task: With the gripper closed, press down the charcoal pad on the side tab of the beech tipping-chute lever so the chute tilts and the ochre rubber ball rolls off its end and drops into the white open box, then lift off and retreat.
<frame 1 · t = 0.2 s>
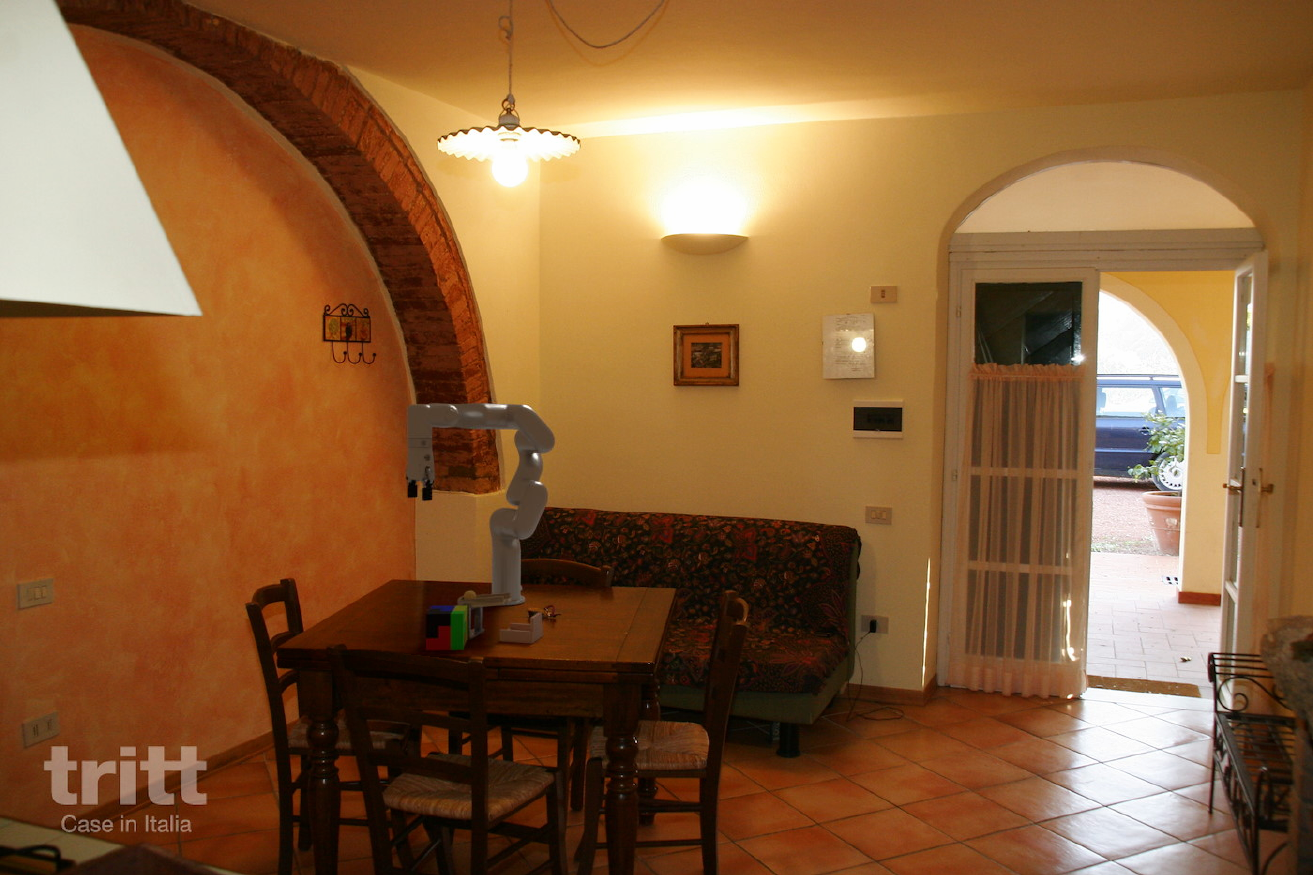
hand: (419, 499, 292), 37 cm above the table, tool pointing down, fingers open, 9 cm apart
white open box: (521, 638, 270), on the table
lever: (480, 605, 275), point 8 cm above the table, hinge at 8.0°, touching ball
puzzle toy: (447, 645, 262), on the table
ball: (469, 596, 273), point 11 cm above the table, tilted 31°, touching lever
stand: (472, 634, 273), on the table
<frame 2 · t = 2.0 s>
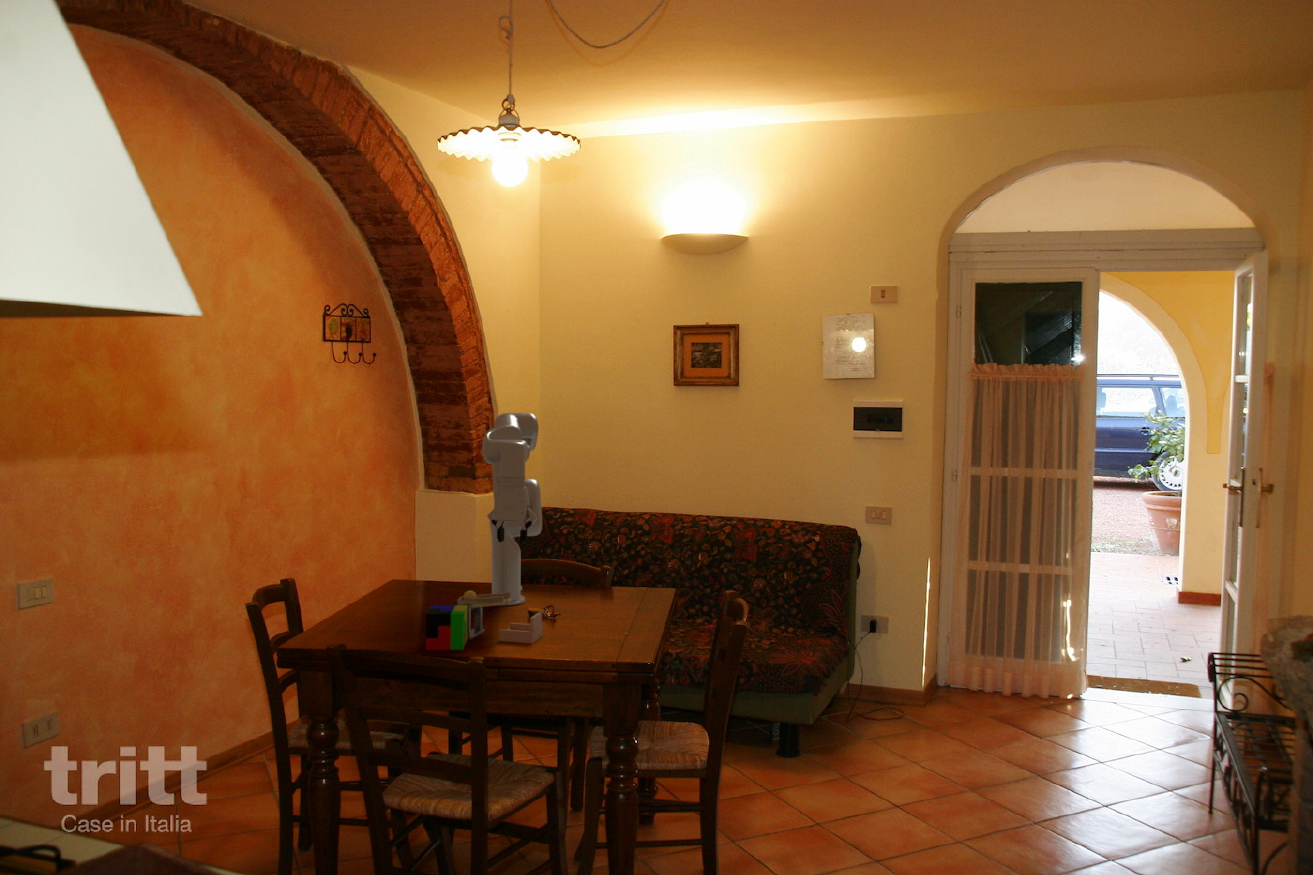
hand: (512, 541, 283), 26 cm above the table, tool pointing down, fingers open, 6 cm apart
nothing on the table moved.
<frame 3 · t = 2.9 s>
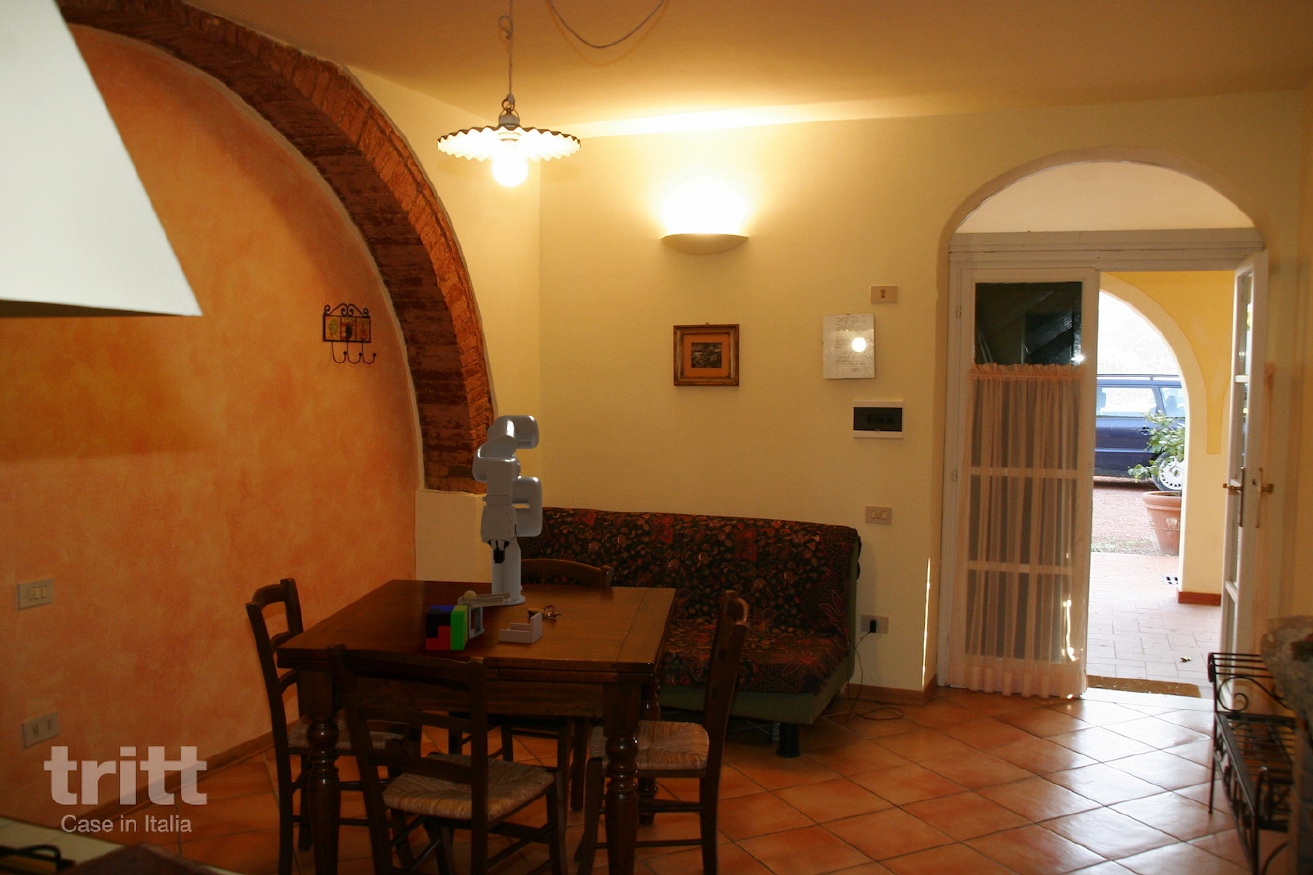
hand: (499, 562, 277), 20 cm above the table, tool pointing down, fingers closed
nothing on the table moved.
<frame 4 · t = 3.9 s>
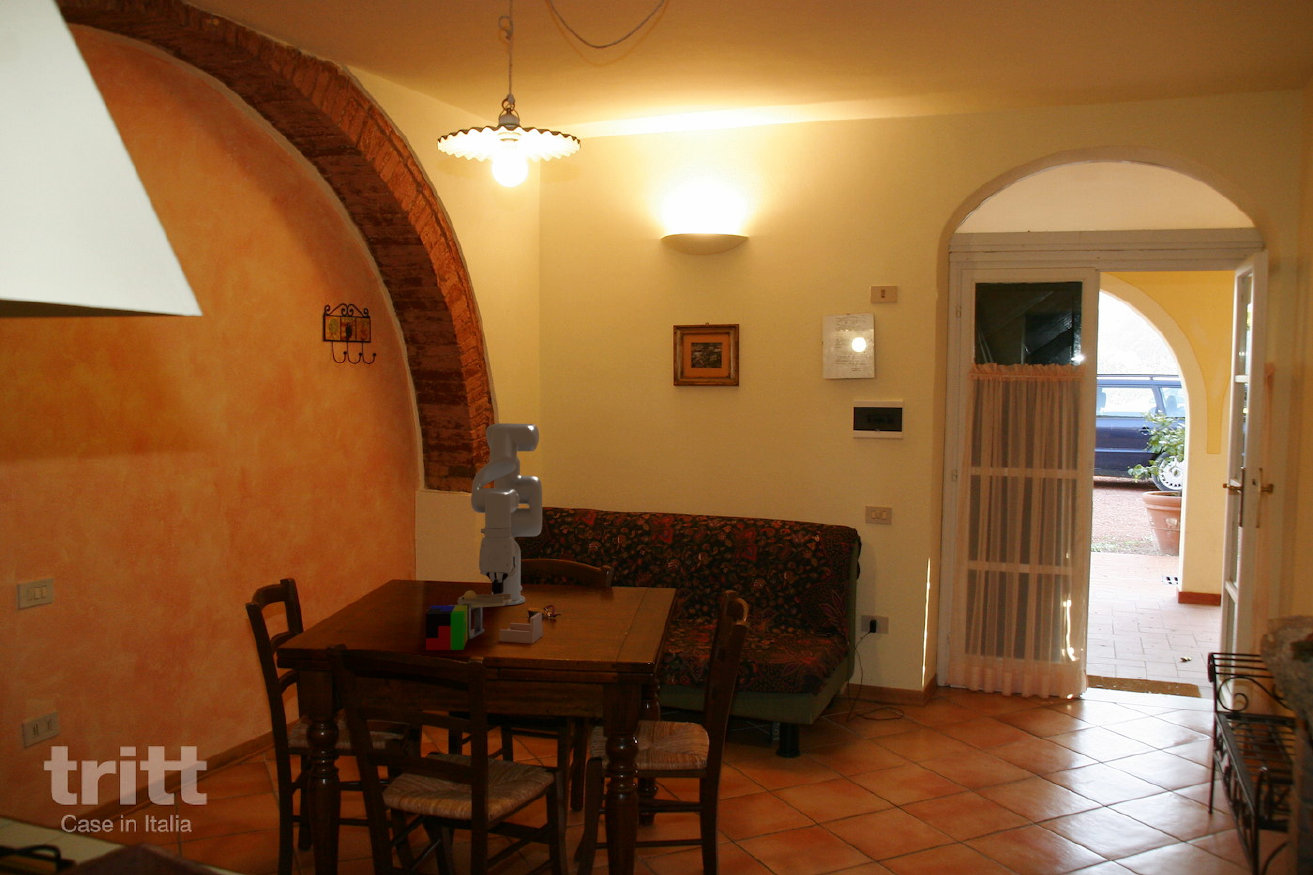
hand: (497, 594, 277), 11 cm above the table, tool pointing down, fingers closed
lever: (480, 605, 275), point 8 cm above the table, hinge at 6.5°, touching ball, gripper
everything else where it was.
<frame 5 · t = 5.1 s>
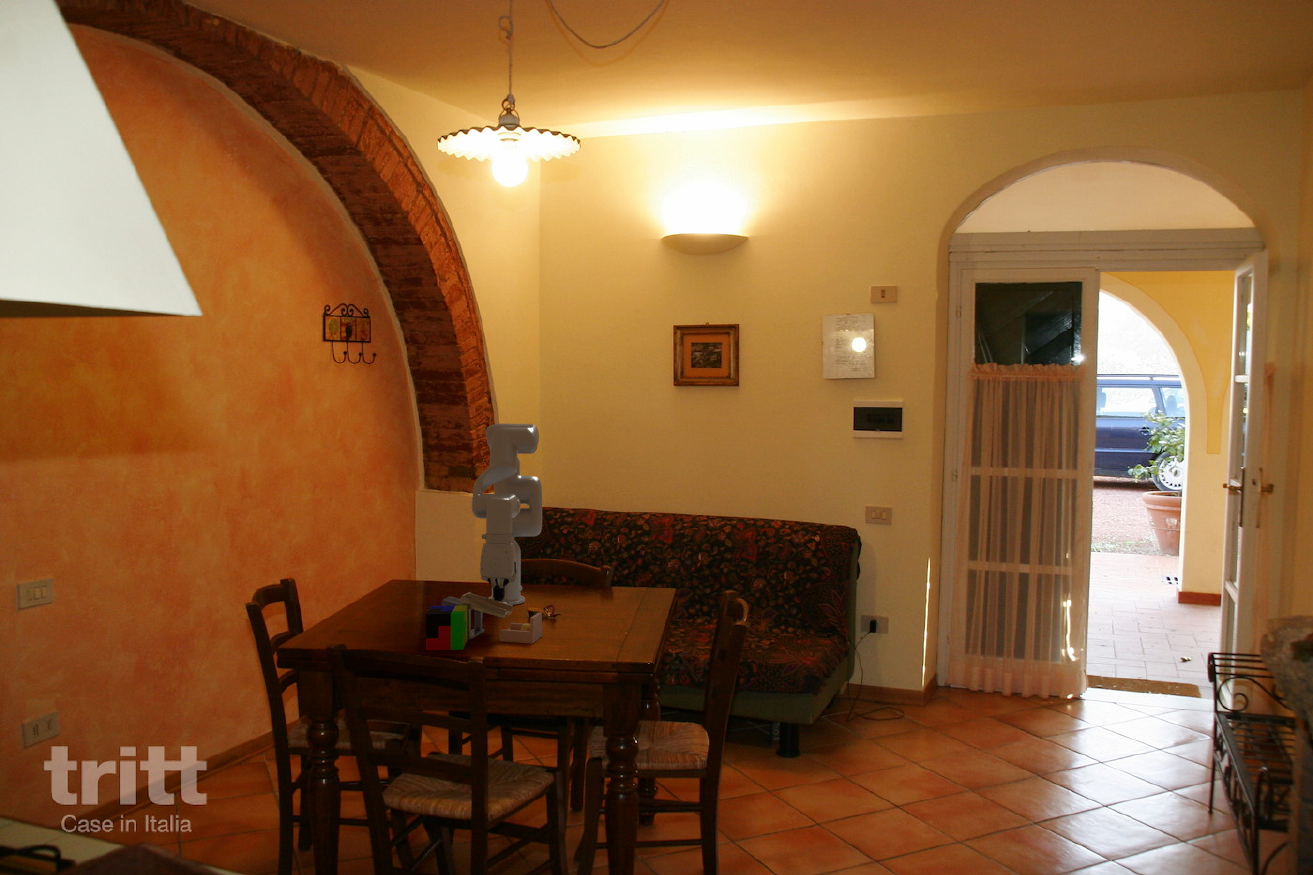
hand: (498, 600, 277), 9 cm above the table, tool pointing down, fingers closed
lever: (480, 606, 275), point 8 cm above the table, hinge at -11.9°, touching gripper
ball: (526, 629, 269), point 3 cm above the table, tilted 96°, touching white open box
everything else where it was.
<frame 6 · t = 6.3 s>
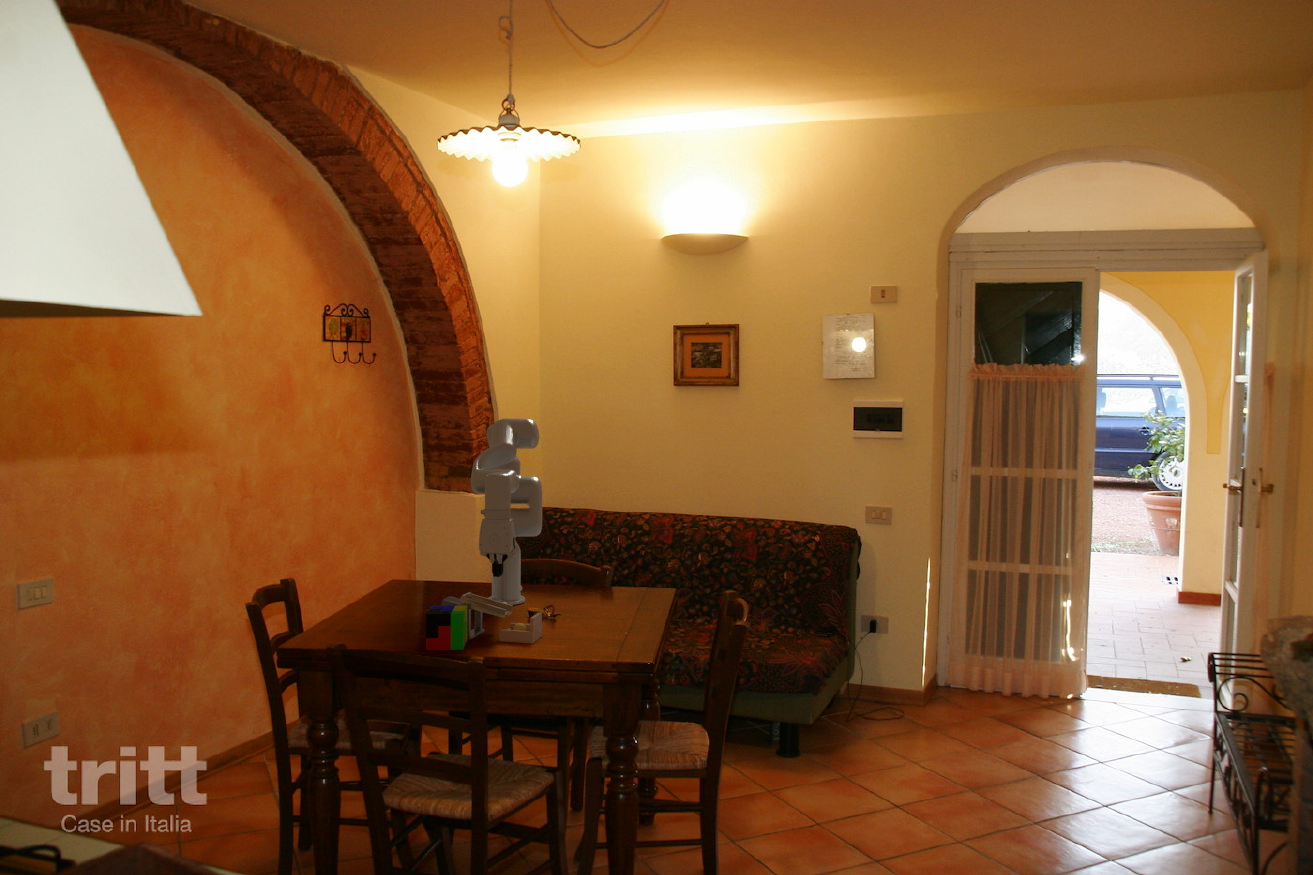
hand: (497, 575, 278), 16 cm above the table, tool pointing down, fingers closed
lever: (480, 606, 275), point 8 cm above the table, hinge at -12.0°
ball: (519, 629, 270), point 3 cm above the table, tilted 166°, touching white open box
everything else where it was.
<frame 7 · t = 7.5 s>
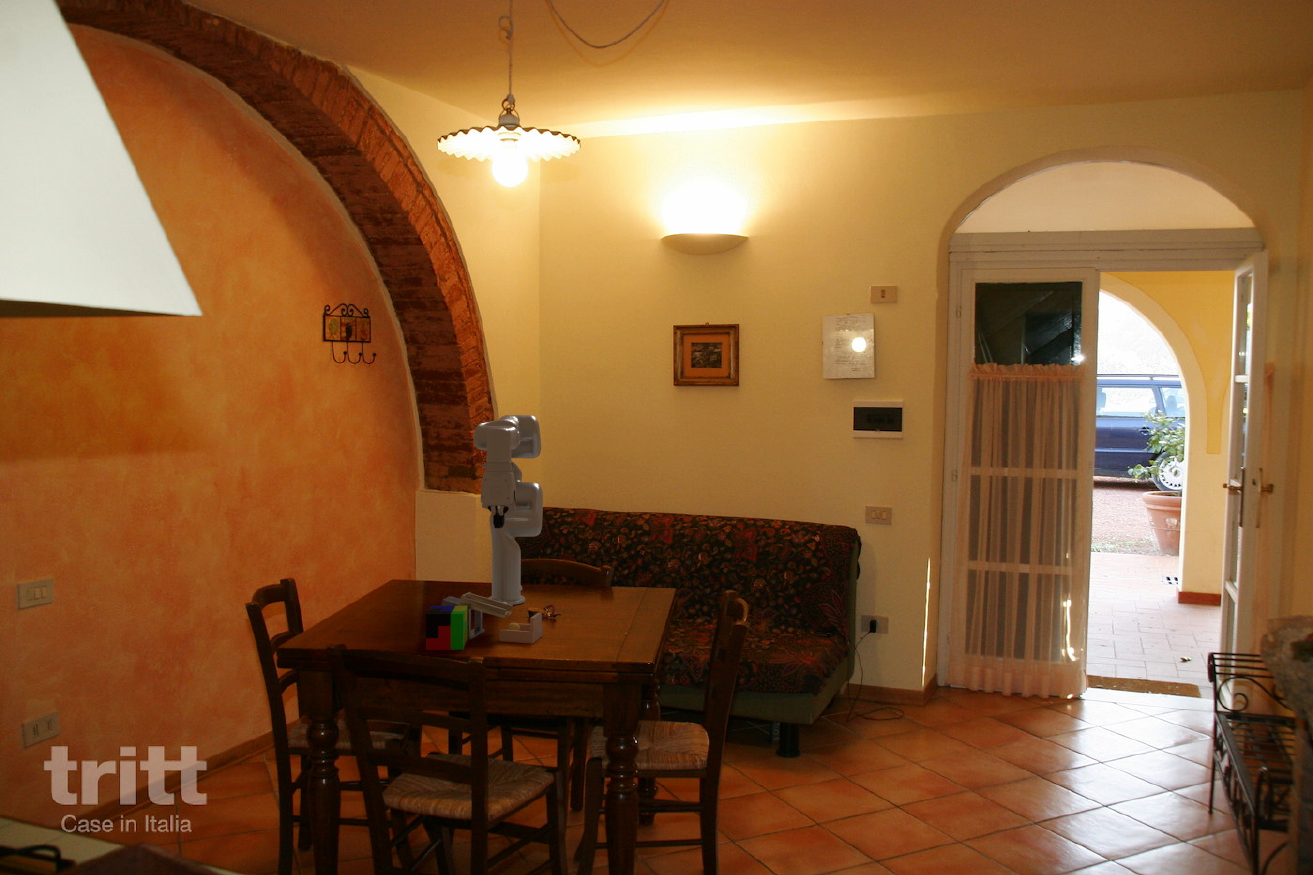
hand: (498, 527, 288), 29 cm above the table, tool pointing down, fingers closed
ball: (513, 628, 270), point 3 cm above the table, tilted 138°, touching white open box
everything else where it was.
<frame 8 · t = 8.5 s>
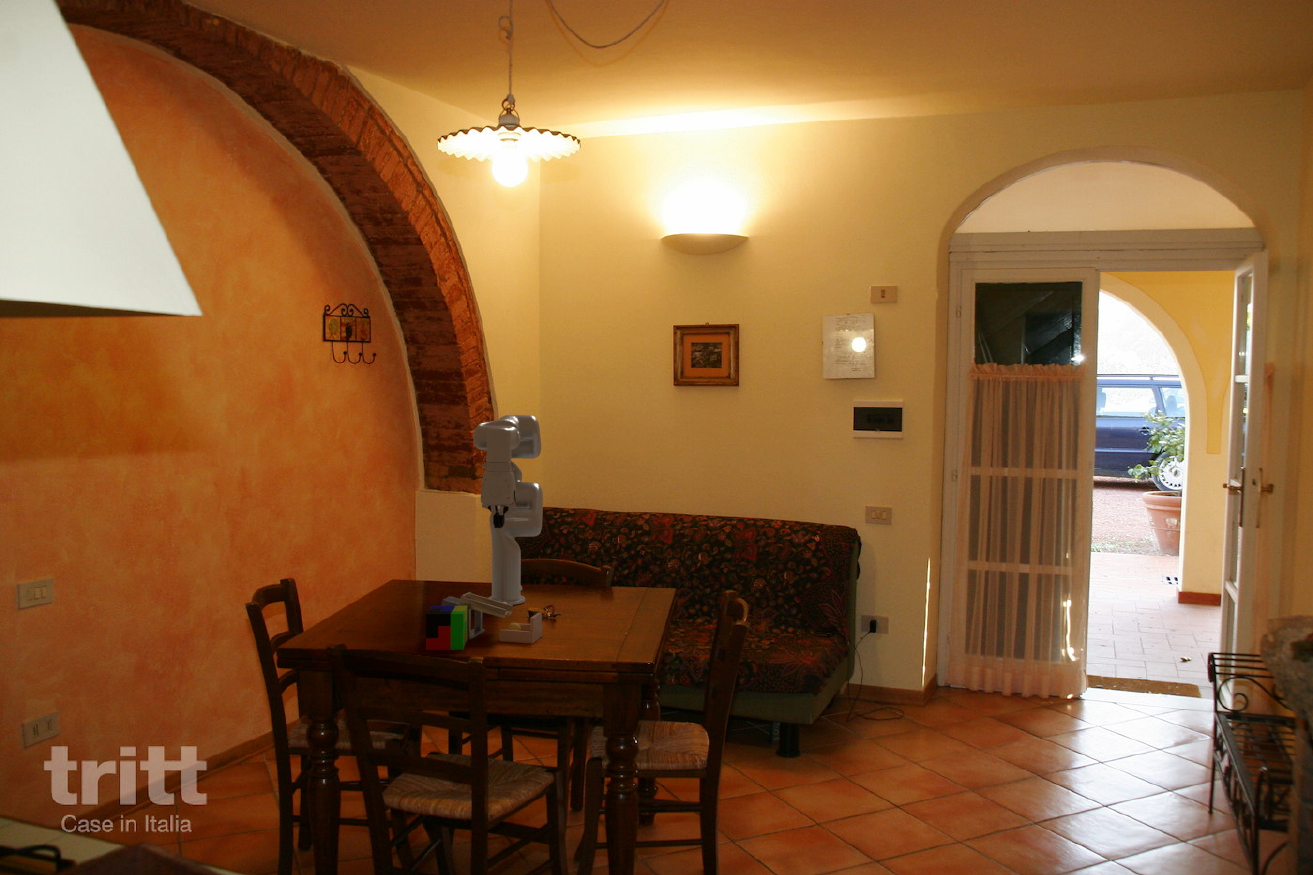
hand: (498, 527, 288), 29 cm above the table, tool pointing down, fingers closed
ball: (514, 629, 270), point 3 cm above the table, tilted 145°, touching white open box
everything else where it was.
at the end: ball inside the target area on the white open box (2.0 cm from its centre), point 2.6 cm above the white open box's base; ball touching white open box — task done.
